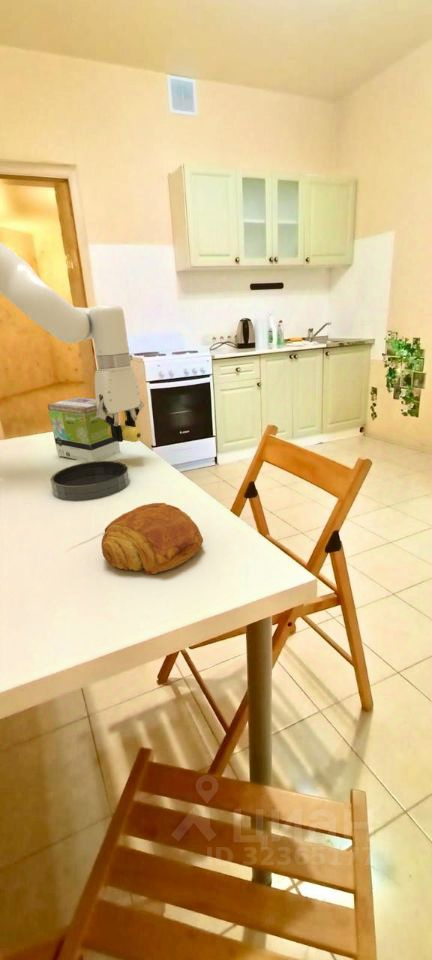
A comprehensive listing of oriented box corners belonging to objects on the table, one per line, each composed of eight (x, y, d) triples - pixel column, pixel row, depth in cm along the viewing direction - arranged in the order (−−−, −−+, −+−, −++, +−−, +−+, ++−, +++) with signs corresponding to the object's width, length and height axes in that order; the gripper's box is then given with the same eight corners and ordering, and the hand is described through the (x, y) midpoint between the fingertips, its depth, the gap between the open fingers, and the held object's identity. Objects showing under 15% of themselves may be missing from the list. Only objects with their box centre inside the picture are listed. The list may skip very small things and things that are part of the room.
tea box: (56, 457, 122) (45, 403, 117) (85, 447, 130) (76, 396, 124) (93, 464, 114) (83, 406, 109) (122, 453, 121) (114, 399, 116)
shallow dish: (38, 492, 97) (35, 477, 96) (100, 470, 109) (98, 457, 107) (81, 509, 87) (78, 492, 86) (145, 483, 99) (143, 468, 97)
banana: (106, 439, 112) (103, 425, 111) (117, 435, 115) (115, 421, 113) (134, 444, 105) (132, 429, 104) (146, 440, 108) (144, 426, 106)
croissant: (94, 565, 71) (78, 522, 68) (172, 520, 79) (161, 480, 76) (142, 602, 60) (126, 553, 57) (226, 546, 69) (216, 500, 65)
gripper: (131, 357, 112) (140, 429, 118) (73, 366, 100) (87, 445, 106) (151, 358, 107) (160, 432, 113) (93, 367, 95) (107, 450, 102)
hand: (125, 438), depth 110 cm, fingers closed on banana, 3 cm apart
